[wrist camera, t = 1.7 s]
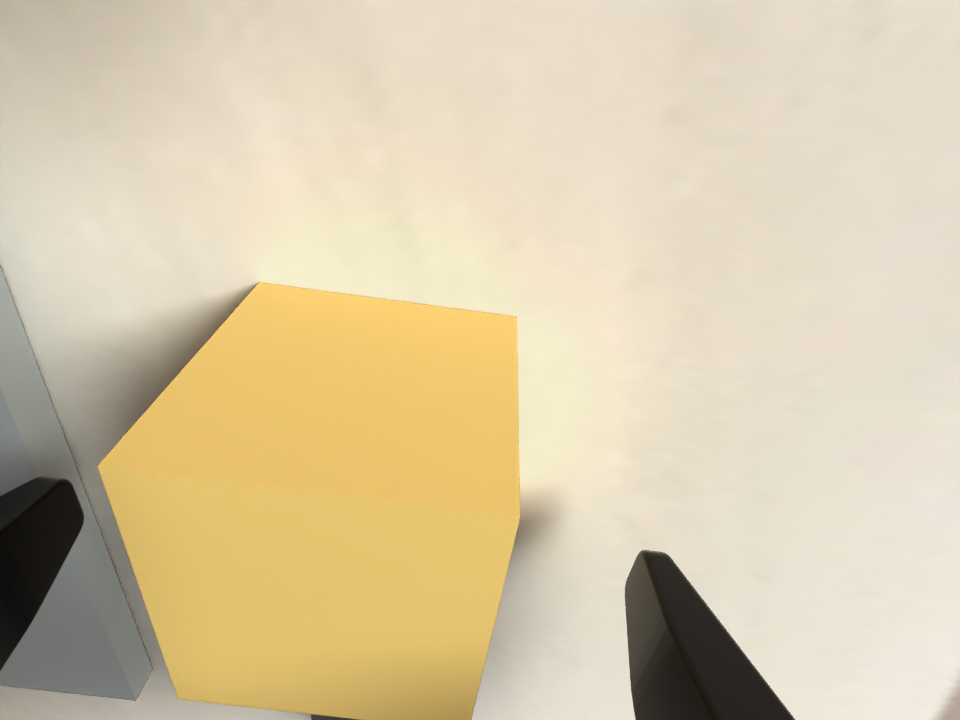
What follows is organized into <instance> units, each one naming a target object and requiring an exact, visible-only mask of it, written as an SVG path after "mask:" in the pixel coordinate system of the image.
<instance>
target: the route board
mask: <svg viewBox="0 0 960 720" xmlns="http://www.w3.org/2000/svg"><path fill="white" fill-rule="evenodd" d="M41 476H48V477H57V478H64V479H68V480H69V481H70V482H71V483H72V484H73V486H74V489H75V491H76V494H77V497H78V499H79V502H80V504H81V507H82V509H83V512H84V523H83V526H82V529H81V531H80V533H79V535H78V537H77V539H76V541H75V543H74V545H73V547H72V548H71V550H70V552H69V554H68V556H67V558H66V560H65V562H64V564H63V566H62V567H61V569H60V571H59V573H58V575H57V577H56V579H55V581H54V583H53V585H52V586H51V588H50V590H49V592H48V594H47V596H46V598H45V600H44V602H43V604H42V605H41V607H40V609H39V611H38V613H37V614H36V616H35V618H34V620H33V621H32V623H31V625H30V626H29V628H28V630H27V631H26V633H25V634H24V636H23V638H22V639H21V641H20V642H19V644H18V645H17V647H16V648H15V650H14V651H13V653H12V654H11V656H10V657H9V659H8V660H7V662H6V664H5V665H4V667H3V668H2V670H1V671H0V685H1V686H10V687H19V688H28V689H37V690H46V691H55V692H64V693H72V694H81V695H90V696H99V697H108V698H117V699H126V700H135V701H136V700H137V698H138V696H139V694H140V693H141V691H142V689H143V687H144V685H145V683H146V681H147V679H148V677H149V676H150V674H151V672H152V670H153V669H152V666H151V663H150V661H149V658H148V655H147V653H146V650H145V648H144V645H143V642H142V640H141V637H140V634H139V632H138V629H137V626H136V624H135V621H134V618H133V616H132V613H131V610H130V608H129V605H128V602H127V600H126V597H125V595H124V592H123V589H122V587H121V584H120V581H119V579H118V576H117V573H116V571H115V568H114V565H113V563H112V560H111V557H110V555H109V552H108V550H107V547H106V544H105V542H104V539H103V536H102V534H101V531H100V528H99V526H98V523H97V520H96V518H95V515H94V512H93V510H92V507H91V505H90V502H89V499H88V497H87V494H86V491H85V489H84V486H83V483H82V481H81V478H80V475H79V473H78V470H77V467H76V465H75V462H74V459H73V457H72V454H71V452H70V449H69V446H68V444H67V441H66V438H65V436H64V433H63V430H62V428H61V425H60V422H59V420H58V417H57V414H56V412H55V409H54V407H53V404H52V401H51V399H50V396H49V393H48V391H47V388H46V385H45V383H44V380H43V377H42V375H41V372H40V369H39V367H38V364H37V362H36V359H35V356H34V354H33V351H32V348H31V346H30V343H29V340H28V338H27V335H26V332H25V330H24V327H23V324H22V322H21V319H20V317H19V314H18V311H17V309H16V306H15V303H14V301H13V298H12V295H11V293H10V290H9V287H8V285H7V282H6V279H5V277H4V274H3V271H2V269H1V266H0V496H1V495H3V494H5V493H7V492H9V491H10V490H12V489H14V488H16V487H18V486H20V485H22V484H24V483H26V482H28V481H30V480H32V479H34V478H37V477H41Z"/></svg>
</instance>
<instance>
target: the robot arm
mask: <svg viewBox="0 0 960 720" xmlns="http://www.w3.org/2000/svg"><path fill="white" fill-rule="evenodd" d="M83 523H84V512H83V509H82V507H81V504H80V502H79V499H78V497H77V494H76V491H75V489H74V486H73V484H72V483H71V482H70V481H69V480H68V479H64V478H57V477H48V476H41V477H37V478H34V479H32V480H30V481H28V482H26V483H24V484H22V485H20V486H18V487H16V488H14V489H12V490H10V491H9V492H7V493H5V494H3V495H1V496H0V671H1V670H2V668H3V667H4V665H5V664H6V662H7V660H8V659H9V657H10V656H11V654H12V653H13V651H14V650H15V648H16V647H17V645H18V644H19V642H20V641H21V639H22V638H23V636H24V634H25V633H26V631H27V630H28V628H29V626H30V625H31V623H32V621H33V620H34V618H35V616H36V614H37V613H38V611H39V609H40V607H41V605H42V604H43V602H44V600H45V598H46V596H47V594H48V592H49V590H50V588H51V586H52V585H53V583H54V581H55V579H56V577H57V575H58V573H59V571H60V569H61V567H62V566H63V564H64V562H65V560H66V558H67V556H68V554H69V552H70V550H71V548H72V547H73V545H74V543H75V541H76V539H77V537H78V535H79V533H80V531H81V529H82V526H83ZM625 605H626V621H627V636H628V651H629V667H630V680H631V692H632V699H633V706H634V712H635V718H636V720H795V719H794V718H793V716H792V715H791V714H790V712H789V711H788V710H787V708H786V707H785V706H784V705H783V703H782V702H781V701H780V699H779V698H778V697H777V695H776V694H775V693H774V692H773V690H772V689H771V688H770V686H769V685H768V684H767V682H766V681H765V680H764V678H763V677H762V676H761V675H760V673H759V672H758V671H757V669H756V668H755V667H754V665H753V664H752V663H751V662H750V660H749V659H748V658H747V656H746V655H745V654H744V652H743V651H742V650H741V649H740V647H739V646H738V645H737V643H736V642H735V641H734V639H733V638H732V637H731V636H730V634H729V633H728V632H727V630H726V629H725V628H724V626H723V625H722V624H721V623H720V621H719V620H718V619H717V617H716V616H715V615H714V613H713V612H712V611H711V610H710V608H709V607H708V606H707V604H706V603H705V602H704V600H703V599H702V598H701V596H700V595H699V594H698V593H697V591H696V590H695V589H694V587H693V586H692V585H691V583H690V582H689V581H688V580H687V578H686V577H685V576H684V574H683V573H682V572H681V570H680V569H679V568H678V567H677V565H676V564H675V563H674V561H673V560H672V559H671V558H670V556H668V555H667V554H666V553H663V552H657V551H649V550H642V551H641V552H639V554H638V555H637V558H636V560H635V562H634V564H633V567H632V569H631V571H630V573H629V576H628V578H627V581H626V585H625Z"/></svg>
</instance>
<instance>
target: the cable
mask: <svg viewBox="0 0 960 720" xmlns="http://www.w3.org/2000/svg"><path fill="white" fill-rule="evenodd" d="M97 467H98V469H99V472H100V475H101V478H102V481H103V484H104V487H105V490H106V493H107V495H108V498H109V501H110V504H111V507H112V510H113V513H114V516H115V519H116V521H117V524H118V527H119V530H120V533H121V536H122V539H123V542H124V545H125V547H126V550H127V553H128V556H129V559H130V562H131V565H132V568H133V571H134V573H135V576H136V579H137V582H138V585H139V588H140V591H141V594H142V597H143V599H144V602H145V605H146V608H147V611H148V614H149V617H150V620H151V623H152V625H153V628H154V631H155V634H156V637H157V640H158V643H159V646H160V649H161V651H162V654H163V657H164V660H165V663H166V666H167V669H168V672H169V675H170V677H171V680H172V683H173V686H174V689H175V692H176V695H177V698H178V699H181V700H190V701H199V702H208V703H217V704H226V705H235V706H244V707H253V708H262V709H271V710H280V711H289V712H297V713H306V714H311V718H312V720H471V718H472V714H473V710H474V706H475V702H476V698H477V694H478V690H479V685H480V681H481V677H482V673H483V669H484V665H485V661H486V657H487V653H488V648H489V644H490V640H491V636H492V632H493V628H494V624H495V620H496V615H497V611H498V607H499V603H500V599H501V595H502V591H503V587H504V582H505V578H506V574H507V570H508V566H509V562H510V558H511V554H512V550H513V545H514V541H515V537H516V533H517V529H518V525H519V521H520V478H519V417H518V355H517V317H514V316H507V315H499V314H492V313H484V312H477V311H469V310H462V309H454V308H447V307H439V306H432V305H424V304H417V303H409V302H402V301H394V300H387V299H379V298H372V297H364V296H357V295H349V294H342V293H335V292H327V291H320V290H312V289H305V288H297V287H290V286H282V285H275V284H267V283H260V282H259V283H258V284H257V285H256V287H255V288H254V289H253V290H252V291H251V292H250V293H249V294H248V296H247V297H246V298H245V299H244V300H243V301H242V302H241V304H240V305H239V306H238V307H237V308H236V309H235V310H234V311H233V313H232V314H231V315H230V316H229V317H228V318H227V319H226V321H225V322H224V323H223V324H222V325H221V326H220V327H219V328H218V330H217V331H216V332H215V333H214V334H213V335H212V336H211V338H210V339H209V340H208V341H207V342H206V343H205V344H204V346H203V347H202V348H201V349H200V350H199V351H198V352H197V353H196V355H195V356H194V357H193V358H192V359H191V360H190V361H189V363H188V364H187V365H186V366H185V367H184V368H183V369H182V370H181V372H180V373H179V374H178V375H177V376H176V377H175V378H174V380H173V381H172V382H171V383H170V384H169V385H168V386H167V387H166V389H165V390H164V391H163V392H162V393H161V394H160V395H159V397H158V398H157V399H156V400H155V401H154V402H153V403H152V405H151V406H150V407H149V408H148V409H147V410H146V411H145V412H144V414H143V415H142V416H141V417H140V418H139V419H138V420H137V422H136V423H135V424H134V425H133V426H132V427H131V428H130V429H129V431H128V432H127V433H126V434H125V435H124V436H123V437H122V439H121V440H120V441H119V442H118V443H117V444H116V445H115V446H114V448H113V449H112V450H111V451H110V452H109V453H108V454H107V456H106V457H105V458H104V459H103V460H102V461H101V462H100V464H99V465H98V466H97Z"/></svg>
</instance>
